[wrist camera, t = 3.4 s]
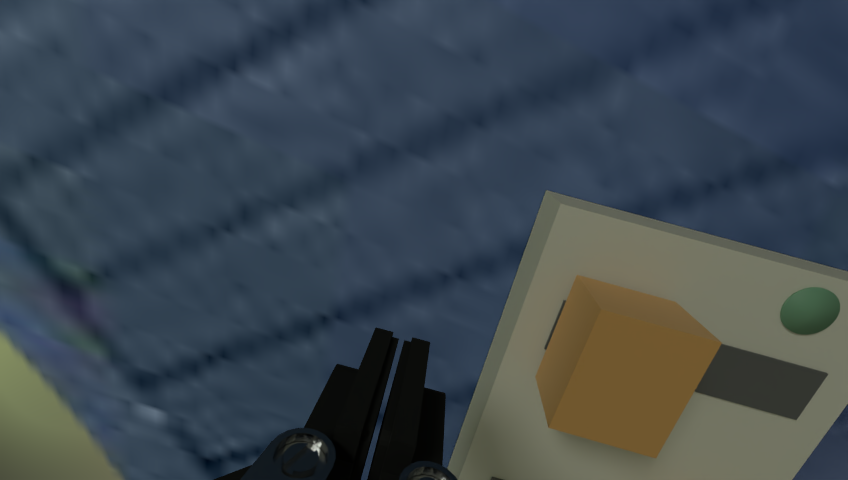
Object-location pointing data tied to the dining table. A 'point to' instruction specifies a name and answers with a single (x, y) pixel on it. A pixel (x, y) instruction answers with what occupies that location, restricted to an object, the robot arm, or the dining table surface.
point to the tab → (622, 366)
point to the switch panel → (720, 385)
